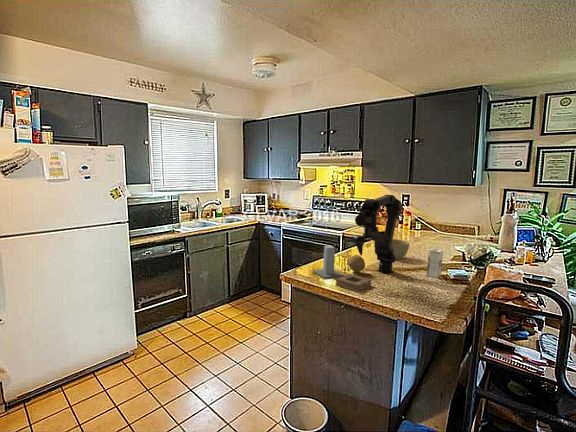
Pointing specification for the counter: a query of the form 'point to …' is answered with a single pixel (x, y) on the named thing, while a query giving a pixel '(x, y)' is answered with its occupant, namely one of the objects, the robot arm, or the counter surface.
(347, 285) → the walnut pocket block
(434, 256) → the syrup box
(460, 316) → the counter surface
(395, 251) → the planter bowl
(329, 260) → the slate peg
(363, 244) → the robot arm
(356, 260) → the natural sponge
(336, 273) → the charcoal mat
